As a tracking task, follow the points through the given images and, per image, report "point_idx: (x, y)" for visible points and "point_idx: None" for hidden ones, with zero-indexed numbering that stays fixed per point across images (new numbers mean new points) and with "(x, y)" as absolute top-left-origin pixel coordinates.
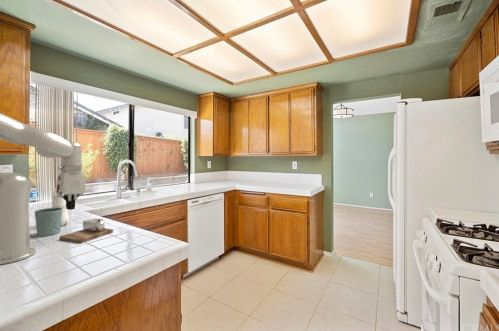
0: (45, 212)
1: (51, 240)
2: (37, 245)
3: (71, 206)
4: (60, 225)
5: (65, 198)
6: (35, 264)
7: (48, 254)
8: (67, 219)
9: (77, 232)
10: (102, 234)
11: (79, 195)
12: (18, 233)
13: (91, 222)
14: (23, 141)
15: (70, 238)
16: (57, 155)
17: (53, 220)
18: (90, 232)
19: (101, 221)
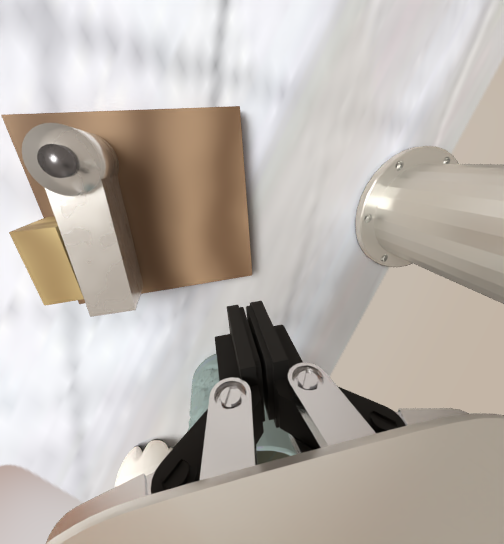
0: (283, 445)
1: (265, 288)
2: (314, 270)
3: (265, 314)
4: (191, 398)
5: (365, 399)
6: (443, 35)
7: (366, 110)
8: (129, 468)
9: (181, 265)
10: (100, 113)
11: (145, 483)
12: None
13: (113, 226)
14: None
15: (246, 198)
16: None
17: None
18: (141, 200)
19: (56, 136)
